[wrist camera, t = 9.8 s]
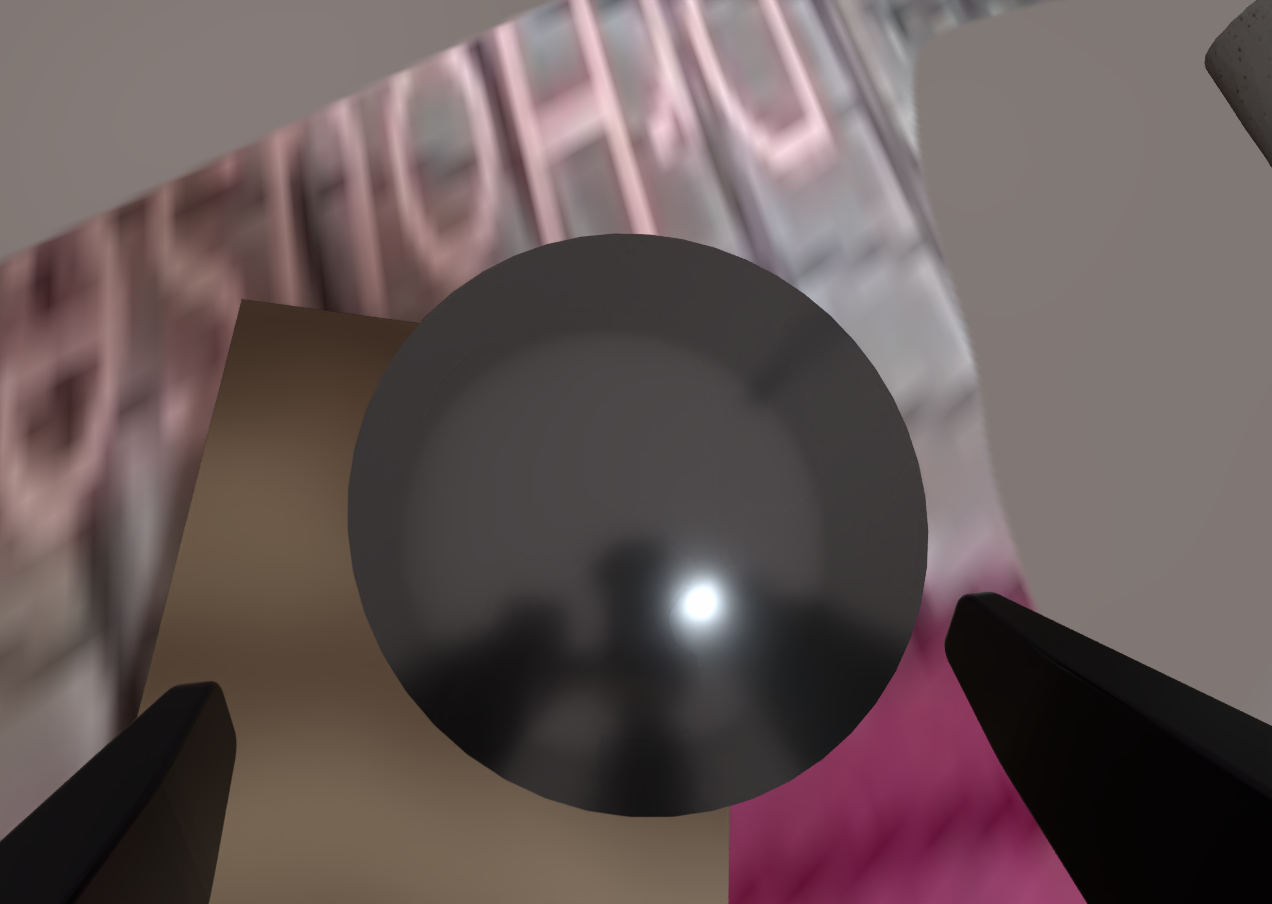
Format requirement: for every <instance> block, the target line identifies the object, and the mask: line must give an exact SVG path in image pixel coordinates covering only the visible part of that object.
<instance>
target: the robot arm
mask: <svg viewBox="0 0 1272 904" xmlns="http://www.w3.org/2000/svg"><path fill="white" fill-rule="evenodd" d="M945 653H946V656H947V659H948V662H949V664H950V666H951V668H952V670H953V671H954V673H955V675H956V677H957V679H958V681H959V683H960V685H961V687H962V689H963V691H964V693H965V695H966V697H967V699H968V701H969V703H970V705H971V707H972V709H973V711H974V713H975V715H976V717H977V719H978V721H979V723H980V725H981V727H982V729H983V731H984V733H985V735H986V737H987V739H988V741H989V743H990V745H991V747H992V749H993V751H994V753H995V754H996V756H997V758H998V760H999V762H1000V764H1001V765H1002V767H1003V769H1004V770H1005V772H1006V774H1007V776H1008V777H1009V779H1010V781H1011V782H1012V784H1013V785H1014V787H1015V789H1016V790H1017V792H1018V793H1019V795H1020V797H1021V798H1022V800H1023V802H1024V803H1025V805H1026V806H1027V808H1028V810H1029V811H1030V813H1031V814H1032V816H1033V818H1034V819H1035V821H1036V822H1037V824H1038V826H1039V827H1040V829H1041V830H1042V832H1043V834H1044V835H1045V837H1046V838H1047V840H1048V842H1049V843H1050V845H1051V846H1052V848H1053V850H1054V851H1055V853H1056V854H1057V856H1058V858H1059V859H1060V861H1061V862H1062V864H1063V866H1064V867H1065V869H1066V870H1067V872H1068V874H1069V875H1070V877H1071V878H1072V880H1073V882H1074V883H1075V885H1076V886H1077V888H1078V890H1079V891H1080V893H1081V894H1082V896H1083V898H1084V899H1085V901H1086V902H1087V904H1272V726H1271V725H1269V724H1267V723H1265V722H1262V721H1261V720H1258V719H1256V718H1254V717H1252V716H1250V715H1248V714H1246V713H1244V712H1242V711H1240V710H1238V709H1236V708H1234V707H1231V706H1229V705H1227V704H1225V703H1223V702H1221V701H1219V700H1217V699H1215V698H1213V697H1211V696H1208V695H1206V694H1205V693H1202V692H1200V691H1198V690H1196V689H1194V688H1192V687H1190V686H1188V685H1186V684H1184V683H1181V682H1180V681H1177V680H1175V679H1173V678H1171V677H1169V676H1167V675H1165V674H1163V673H1161V672H1159V671H1157V670H1155V669H1153V668H1151V667H1148V666H1146V665H1144V664H1142V663H1140V662H1138V661H1136V660H1134V659H1132V658H1130V657H1128V656H1126V655H1124V654H1122V653H1119V652H1117V651H1115V650H1113V649H1111V648H1109V647H1107V646H1105V645H1103V644H1100V643H1099V642H1097V641H1094V640H1092V639H1090V638H1088V637H1086V636H1084V635H1082V634H1080V633H1078V632H1076V631H1074V630H1072V629H1070V628H1067V627H1065V626H1063V625H1061V624H1059V623H1057V622H1055V621H1053V620H1051V619H1049V618H1047V617H1044V616H1043V615H1041V614H1039V613H1036V612H1034V611H1032V610H1030V609H1028V608H1026V607H1024V606H1022V605H1020V604H1018V603H1016V602H1014V601H1012V600H1009V599H1007V598H1005V597H1003V596H1001V595H999V594H997V593H994V592H980V593H972V594H966V595H963V596H962V597H961V598H960V599H959V600H958V602H957V605H956V608H955V611H954V614H953V617H952V620H951V623H950V626H949V629H948V632H947V635H946V638H945ZM236 750H237V739H236V733H235V729H234V726H233V722H232V719H231V716H230V713H229V710H228V706H227V703H226V700H225V697H224V693H223V690H222V688H221V686H220V685H219V684H218V683H217V682H214V681H203V682H194V683H186V684H179V685H176V686H173V687H172V688H170V689H169V690H167V691H166V692H165V693H164V694H163V695H162V696H161V697H159V698H158V699H157V700H156V701H155V702H154V703H153V704H152V705H151V706H149V707H148V708H147V709H146V710H145V711H144V712H143V713H142V714H141V715H139V716H138V717H137V718H136V719H135V720H134V721H133V722H132V723H131V724H129V725H128V726H127V727H126V728H125V729H124V730H123V731H122V732H121V733H120V734H118V735H117V736H116V737H115V738H114V739H113V740H112V741H111V742H110V743H108V744H107V745H106V746H105V747H104V748H103V749H102V750H101V751H100V752H98V753H97V754H96V755H95V756H94V757H93V758H92V759H91V760H90V761H89V762H87V763H86V764H85V765H84V766H83V767H82V768H81V769H80V770H79V771H77V772H76V773H75V774H74V775H73V776H72V777H71V778H70V779H69V780H67V781H66V782H65V783H64V784H63V785H62V786H61V787H60V788H59V789H58V790H56V791H55V792H54V793H53V794H52V795H51V796H50V797H49V798H48V799H46V800H45V801H44V802H43V803H42V804H41V805H40V806H39V807H38V808H36V809H35V810H34V811H33V812H32V813H31V814H30V815H29V816H28V817H26V818H25V819H24V820H23V821H22V822H21V823H20V824H19V825H18V826H17V827H15V828H14V829H13V830H12V831H11V832H10V833H9V834H8V835H7V836H5V837H4V838H3V839H2V840H1V841H0V904H209V901H210V897H211V892H212V887H213V882H214V877H215V871H216V865H217V860H218V854H219V849H220V843H221V837H222V832H223V826H224V821H225V815H226V809H227V804H228V798H229V792H230V787H231V781H232V776H233V770H234V764H235V759H236Z"/></svg>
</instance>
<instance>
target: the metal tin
mask: <svg viewBox="0 0 1272 904" xmlns="http://www.w3.org/2000/svg"><path fill="white" fill-rule="evenodd" d="M348 538H349V546H350V553H351V561H352V568H353V574H354V578H355V581H356V585H357V588H358V592H359V595H360V599H361V603H362V606H363V610H364V613H365V616H366V618H367V620H368V623H369V625H370V627H371V629H372V632H373V634H374V636H375V638H376V641H377V643H378V645H379V647H380V650H381V652H382V654H383V656H384V657H385V659H386V661H387V662H388V664H389V665H390V667H391V669H392V670H393V672H394V673H395V675H396V677H397V678H398V680H399V681H400V683H401V685H402V686H403V688H404V689H405V691H406V692H407V693H408V695H409V696H410V697H411V698H412V699H413V701H414V702H415V703H416V704H417V705H418V706H419V708H420V709H421V710H422V711H423V712H424V714H425V715H426V716H427V717H428V718H429V720H430V721H431V722H432V723H433V724H434V725H435V726H436V727H437V728H438V729H439V730H440V731H441V732H442V733H444V734H445V735H446V736H447V737H448V738H449V739H450V740H451V741H453V742H454V743H455V744H456V745H457V746H458V747H459V748H460V749H462V750H463V751H464V752H465V753H466V754H467V755H469V756H470V757H472V758H473V759H475V760H476V761H478V762H479V763H481V764H482V765H484V766H485V767H487V768H488V769H490V770H491V771H493V772H494V773H496V774H497V775H499V776H500V777H502V778H503V779H505V780H507V781H509V782H511V783H514V784H516V785H518V786H520V787H522V788H524V789H526V790H529V791H531V792H533V793H535V794H537V795H539V796H541V797H543V798H546V799H549V800H553V801H556V802H559V803H563V804H566V805H569V806H573V807H576V808H579V809H583V810H586V811H591V812H598V813H605V814H612V815H619V816H626V817H676V816H682V815H689V814H695V813H702V812H709V811H715V810H718V809H721V808H724V807H728V806H731V805H734V804H737V803H741V802H744V801H747V800H750V799H753V798H756V797H758V796H760V795H762V794H764V793H766V792H768V791H770V790H772V789H774V788H776V787H779V786H781V785H783V784H785V783H787V782H789V781H791V780H792V779H794V778H795V777H797V776H798V775H800V774H801V773H803V772H804V771H806V770H807V769H809V768H810V767H811V766H813V765H814V764H816V763H817V762H819V761H820V760H822V759H823V758H824V757H825V756H826V755H828V754H829V753H830V752H831V751H832V750H833V749H834V748H835V747H836V746H838V745H839V744H840V743H841V742H842V741H843V740H844V739H845V738H846V737H847V736H849V735H850V734H851V733H852V732H853V730H854V729H855V728H856V727H857V726H858V724H859V723H860V722H861V721H862V720H863V718H864V717H865V716H866V715H867V714H868V712H869V711H870V710H871V709H872V708H873V706H874V705H875V704H876V702H877V701H878V699H879V698H880V696H881V694H882V693H883V691H884V689H885V688H886V686H887V685H888V683H889V681H890V680H891V678H892V677H893V675H894V673H895V672H896V670H897V667H898V665H899V663H900V661H901V658H902V656H903V654H904V652H905V649H906V647H907V645H908V643H909V640H910V638H911V635H912V632H913V628H914V625H915V622H916V618H917V615H918V611H919V608H920V605H921V600H922V594H923V588H924V582H925V576H926V569H927V550H928V523H927V511H926V500H925V493H924V488H923V483H922V478H921V473H920V468H919V463H918V460H917V457H916V454H915V451H914V448H913V445H912V442H911V439H910V435H909V432H908V429H907V427H906V425H905V423H904V420H903V418H902V416H901V414H900V412H899V410H898V407H897V405H896V403H895V401H894V399H893V397H892V395H891V393H890V392H889V390H888V388H887V387H886V385H885V384H884V382H883V380H882V379H881V377H880V375H879V374H878V372H877V370H876V369H875V367H874V366H873V365H872V363H871V362H870V361H869V359H868V358H867V357H866V355H865V354H864V353H863V351H862V350H861V349H860V348H859V346H858V345H857V344H856V342H855V341H854V340H853V339H852V338H851V337H850V336H849V335H848V334H847V333H846V332H845V331H844V329H843V328H842V327H841V326H840V325H839V324H838V323H837V322H836V321H835V320H834V319H833V318H832V317H831V316H830V315H829V314H828V313H826V312H825V311H824V310H823V309H822V308H820V307H819V306H818V305H817V304H816V303H815V302H813V301H812V300H811V299H810V298H809V297H807V296H806V295H805V294H804V293H802V292H801V291H799V290H798V289H796V288H795V287H793V286H792V285H790V284H789V283H787V282H786V281H784V280H783V279H781V278H780V277H778V276H777V275H775V274H773V273H771V272H769V271H767V270H765V269H763V268H761V267H759V266H757V265H755V264H753V263H752V262H750V261H748V260H745V259H743V258H740V257H738V256H735V255H732V254H730V253H727V252H725V251H722V250H719V249H717V248H714V247H710V246H706V245H702V244H699V243H695V242H691V241H687V240H683V239H677V238H670V237H663V236H656V235H647V234H607V235H596V236H585V237H578V238H574V239H569V240H565V241H560V242H555V243H551V244H547V245H544V246H541V247H538V248H535V249H533V250H530V251H527V252H524V253H521V254H518V255H516V256H513V257H511V258H509V259H507V260H505V261H503V262H501V263H499V264H497V265H495V266H493V267H491V268H489V269H487V270H485V271H483V272H482V273H480V274H479V275H477V276H476V277H474V278H473V279H471V280H470V281H469V282H467V283H466V284H464V285H463V286H461V287H460V288H458V289H457V290H455V291H454V292H453V293H451V294H450V295H449V296H448V297H447V298H446V299H445V300H444V301H442V302H441V303H440V304H439V305H438V306H437V307H436V308H435V309H434V310H432V311H431V312H430V313H429V314H428V315H427V316H426V317H425V318H424V319H423V320H422V322H421V323H420V324H419V325H418V326H417V327H416V329H415V330H414V331H413V332H412V333H411V334H410V336H409V337H408V338H407V339H406V340H405V341H404V343H403V344H402V345H401V347H400V348H399V350H398V351H397V353H396V355H395V356H394V358H393V359H392V361H391V362H390V364H389V365H388V367H387V369H386V370H385V372H384V373H383V375H382V376H381V379H380V381H379V383H378V385H377V387H376V389H375V392H374V394H373V396H372V398H371V400H370V402H369V405H368V407H367V409H366V411H365V414H364V418H363V421H362V424H361V428H360V431H359V434H358V438H357V441H356V444H355V448H354V453H353V459H352V466H351V472H350V479H349V485H348Z"/></svg>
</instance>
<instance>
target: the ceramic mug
mask: <svg viewBox="0 0 1272 904" xmlns="http://www.w3.org/2000/svg"><path fill="white" fill-rule="evenodd" d="M1205 67H1206V69H1207V71H1208V73H1209V74H1210V76H1211V77H1212V79H1213V80H1214V82H1215V83H1216V85H1217V86H1218V88H1219V89H1220V91H1221V92H1222V94H1223V95H1224V97H1225V98H1226V100H1227V101H1228V103H1229V104H1230V106H1231V108H1232V109H1233V111H1234V112H1235V113H1236V115H1237V117H1238V118H1239V120H1240V121H1241V123H1242V125H1243V126H1244V128H1245V129H1246V131H1247V132H1248V133H1249V135H1250V136H1251V138H1252V139H1253V141H1254V142H1255V143H1256V145H1257V146H1258V148H1259V149H1260V150H1261V152H1262V153H1263V155H1264V156H1265V158H1266V159H1267V161H1268V162H1269V164H1270V166H1271V167H1272V0H1256V1H1255V2H1254V3H1252V4H1251V5H1250V6H1248V7H1247V8H1246V9H1245V10H1244V12H1243V13H1242V14H1240V15H1239V16H1238V17H1237V18H1236V19H1234V20H1233V21H1232V22H1231V23H1230V24H1229V26H1228V27H1227V28H1226V29H1225V30H1224V31H1223V32H1222V33H1221V34H1220V35H1219V36H1218V37H1217V38H1216V39H1215V41H1214V42H1213V44H1212V45H1211V47H1210V48H1209V50H1208V52H1207V54H1206V56H1205Z"/></svg>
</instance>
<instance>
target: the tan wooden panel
mask: <svg viewBox="0 0 1272 904" xmlns="http://www.w3.org/2000/svg"><path fill="white" fill-rule="evenodd" d="M419 324H420V323H414V322H407V321H399V320H392V319H384V318H377V317H370V316H362V315H355V314H347V313H340V312H333V311H325V310H318V309H310V308H303V307H296V306H288V305H281V304H273V303H266V302H259V301H251V300H244V299H242V300H241V304H240V308H239V312H238V316H237V320H236V324H235V328H234V332H233V336H232V340H231V344H230V348H229V352H228V356H227V360H226V364H225V368H224V372H223V376H222V380H221V384H220V388H219V392H218V396H217V400H216V404H215V408H214V412H213V416H212V420H211V424H210V428H209V432H208V436H207V440H206V444H205V448H204V452H203V456H202V460H201V464H200V468H199V472H198V476H197V480H196V484H195V488H194V492H193V496H192V500H191V504H190V508H189V512H188V516H187V520H186V524H185V528H184V532H183V536H182V540H181V544H180V548H179V552H178V556H177V560H176V564H175V568H174V572H173V576H172V580H171V584H170V588H169V592H168V596H167V600H166V604H165V608H164V612H163V616H162V620H161V624H160V628H159V632H158V636H157V640H156V644H155V648H154V652H153V656H152V660H151V664H150V668H149V672H148V676H147V680H146V684H145V688H144V692H143V696H142V700H141V704H140V708H139V712H138V716H139V715H141V714H142V713H143V712H144V711H145V710H146V709H147V708H148V707H149V706H151V705H152V704H153V703H154V702H155V701H156V700H157V699H158V698H159V697H161V696H162V695H163V694H164V693H165V692H166V691H167V690H169V689H170V688H172V687H173V686H176V685H179V684H186V683H194V682H203V681H214V682H217V683H218V684H219V685H220V686H221V688H222V690H223V693H224V697H225V700H226V703H227V706H228V710H229V713H230V716H231V719H232V722H233V726H234V729H235V733H236V739H237V750H236V759H235V764H234V770H233V776H232V781H231V787H230V792H229V798H228V804H227V809H226V815H225V821H224V826H223V832H222V837H221V843H220V849H219V854H218V860H217V865H216V871H215V877H214V882H213V887H212V892H211V897H210V901H209V904H728V884H729V823H730V806H728V807H724V808H721V809H718V810H715V811H709V812H702V813H695V814H689V815H682V816H676V817H626V816H619V815H612V814H605V813H598V812H591V811H586V810H583V809H579V808H576V807H573V806H569V805H566V804H563V803H559V802H556V801H553V800H549V799H546V798H543V797H541V796H539V795H537V794H535V793H533V792H531V791H529V790H526V789H524V788H522V787H520V786H518V785H516V784H514V783H511V782H509V781H507V780H505V779H503V778H502V777H500V776H499V775H497V774H496V773H494V772H493V771H491V770H490V769H488V768H487V767H485V766H484V765H482V764H481V763H479V762H478V761H476V760H475V759H473V758H472V757H470V756H469V755H467V754H466V753H465V752H464V751H463V750H462V749H460V748H459V747H458V746H457V745H456V744H455V743H454V742H453V741H451V740H450V739H449V738H448V737H447V736H446V735H445V734H444V733H442V732H441V731H440V730H439V729H438V728H437V727H436V726H435V725H434V724H433V723H432V722H431V721H430V720H429V718H428V717H427V716H426V715H425V714H424V712H423V711H422V710H421V709H420V708H419V706H418V705H417V704H416V703H415V702H414V701H413V699H412V698H411V697H410V696H409V695H408V693H407V692H406V691H405V689H404V688H403V686H402V685H401V683H400V681H399V680H398V678H397V677H396V675H395V673H394V672H393V670H392V669H391V667H390V665H389V664H388V662H387V661H386V659H385V657H384V656H383V654H382V652H381V650H380V647H379V645H378V643H377V641H376V638H375V636H374V634H373V632H372V629H371V627H370V625H369V623H368V620H367V618H366V616H365V613H364V610H363V606H362V603H361V599H360V595H359V592H358V588H357V585H356V581H355V578H354V574H353V568H352V561H351V553H350V546H349V538H348V485H349V479H350V472H351V466H352V459H353V453H354V448H355V444H356V441H357V438H358V434H359V431H360V428H361V424H362V421H363V418H364V414H365V411H366V409H367V407H368V405H369V402H370V400H371V398H372V396H373V394H374V392H375V389H376V387H377V385H378V383H379V381H380V379H381V376H382V375H383V373H384V372H385V370H386V369H387V367H388V365H389V364H390V362H391V361H392V359H393V358H394V356H395V355H396V353H397V351H398V350H399V348H400V347H401V345H402V344H403V343H404V341H405V340H406V339H407V338H408V337H409V336H410V334H411V333H412V332H413V331H414V330H415V329H416V327H417V326H418V325H419ZM138 716H137V717H138Z"/></svg>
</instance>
